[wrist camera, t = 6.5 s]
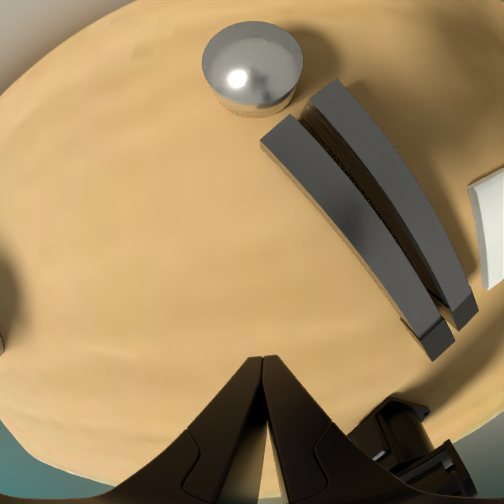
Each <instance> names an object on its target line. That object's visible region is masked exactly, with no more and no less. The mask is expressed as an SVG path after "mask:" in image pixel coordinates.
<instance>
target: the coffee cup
mask: <svg viewBox="0 0 504 504" xmlns="http://www.w3.org/2000/svg"><path fill="white" fill-rule="evenodd" d="M3 352H4V347H3V342H2V339H1V336H0V356H1V355H2V354H3Z"/></svg>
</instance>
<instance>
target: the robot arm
mask: <svg viewBox="0 0 504 504" xmlns="http://www.w3.org/2000/svg"><path fill="white" fill-rule="evenodd" d="M430 412H431V411H430V409H429V408H428V407H424V406H421V405H417V404H413V403H410V402H406V401H403V400H400V399H396V398H393V397H391V398H388V399H386V400H385V401H384V402H383V403H382V404H381V405H380V406H379V407H378V408H377V409H376V410H375V411H374V412H373V413H372V414H371V415H370V416H369V417H368V418H367V419H366V420H365V421H364V422H363V423H362V424H360V425H359V426H358V427H357V428H356V429H355V430H354V431H353V432H352V433H350V434H349V435H348V436H346V435H345V434H344V433H343V432H342V431H341V430H340V429H339V427H338V426H337V425H336V424H335V423H334V422H332V420H331V418H330V417H329V416H328V415H327V414H326V413H325V412H324V410H323V409H322V408H321V407H320V406H319V405H318V403H317V402H316V401H315V400H314V399H313V397H312V396H311V395H310V394H309V393H308V392H307V390H306V389H305V388H304V387H303V386H302V384H301V383H300V382H299V381H298V380H297V378H296V377H295V376H294V375H293V373H292V372H291V371H290V370H289V369H288V367H287V366H286V365H285V364H284V362H283V361H282V360H281V359H280V357H279V356H278V355H269V356H264V357H261V356H257V357H249V358H247V360H246V361H245V362H244V363H243V364H242V366H241V367H240V368H239V369H238V370H237V372H236V373H235V374H234V375H233V376H232V377H231V379H230V380H229V381H228V382H227V383H226V385H225V386H224V387H223V388H222V389H221V390H220V391H219V393H218V394H217V395H216V396H215V397H214V398H213V399H212V401H211V402H210V403H209V404H208V405H207V406H206V407H205V408H204V410H203V411H202V412H201V413H200V414H199V415H198V416H197V417H196V418H195V419H194V421H193V422H192V423H191V424H190V425H189V426H188V427H187V429H185V430H184V431H183V432H182V433H181V434H180V435H179V436H178V437H177V438H176V439H175V440H174V441H173V442H172V443H171V444H170V445H169V446H168V447H167V448H166V449H165V450H164V451H163V452H162V453H160V454H159V455H158V456H157V457H156V458H154V459H153V460H152V461H151V462H149V463H148V464H147V465H145V466H144V467H143V468H141V469H140V470H139V471H137V472H136V473H135V474H133V475H132V476H130V477H129V478H128V479H126V480H125V481H123V482H122V483H121V484H119V485H118V486H116V487H115V488H113V489H111V490H109V491H107V492H105V493H103V494H100V495H97V496H93V497H86V498H70V499H33V498H19V497H12V496H8V495H4V494H1V493H0V504H257V503H258V496H259V489H260V482H261V475H262V468H263V460H264V452H265V444H266V436H267V421H268V428H269V434H270V440H271V445H272V450H273V456H274V461H275V466H276V471H277V476H278V481H279V486H280V492H281V497H282V502H283V504H504V497H503V498H476V497H477V496H478V494H477V491H476V488H475V486H474V483H473V481H472V479H471V477H470V475H469V473H468V471H467V469H466V468H465V466H464V464H463V462H462V460H461V459H460V457H459V455H458V453H457V452H456V450H455V448H454V446H453V445H452V443H451V441H450V440H449V439H448V440H447V441H445V442H444V444H442V445H441V446H439V447H438V448H436V449H434V447H433V445H432V443H431V441H430V439H429V437H428V435H427V433H426V431H425V429H424V427H423V425H422V423H421V422H422V421H423V420H424V419H425V418H426V417H427V416H428V415H429V414H430ZM450 463H452V464H453V465H451V466H450V467H448V468H447V469H445V467H446V466H448V465H449V464H450Z"/></svg>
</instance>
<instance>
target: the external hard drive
mask: <svg viewBox="0 0 504 504" xmlns="http://www.w3.org/2000/svg"><path fill="white" fill-rule="evenodd" d="M467 188H468V193H469V197H470V201H471V206H472V211H473V216H474V221H475V227H476V233H477V240H478V247H479V255H480V265H481V278H482V288H484V289H486V290H490V289H491V288H492V287H494V286H495V285H496V284H498V283H499V282H500V281H501V280H503V279H504V167H503V168H501V169H499V170H497V171H495V172H493V173H492V174H490V175H488V176H486V177H484V178H482V179H480V180H478V181H476V182H475V183H473V184H471V185H469V186H467Z"/></svg>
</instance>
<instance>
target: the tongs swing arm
mask: <svg viewBox="0 0 504 504" xmlns="http://www.w3.org/2000/svg"><path fill="white" fill-rule="evenodd" d="M302 68H303V55H302V51H301V49H300V46H299V44H298V43H297V41H296V40H295V39H294V38H293V36H291V35H290V34H289V33H288V32H287V31H285V30H284V29H282V28H280V27H278V26H276V25H273V24H270V23H266V22H260V21H247V22H241V23H237V24H233V25H231V26H228V27H226V28H224V29H223V30H221V31H220V32H218V33H217V34H216V35H215V36H214V37H213V38H212V39H211V40H210V41H209V43H208V44H207V46H206V48H205V50H204V53H203V57H202V69H203V73H204V76H205V78H206V80H207V81H208V83H209V85H210V86H211V88H212V90H213V91H214V93H215V95H216V96H217V98H218V100H219V101H220V103H221V104H222V105H223V106H224V107H225V108H226V109H227V110H229V111H230V112H232V113H234V114H236V115H238V116H241V117H246V118H263V117H268V116H271V115H273V114H275V113H277V112H279V111H280V110H282V109H283V108H284V107H285V106H286V105H287V104H288V103H289V102H290V100H291V99H292V97H293V94H294V92H295V89H296V86H297V83H298V80H299V77H300V75H301V72H302ZM260 147H261V149H262V150H263V151H264V152H265V153H266V154H267V155H268V156H269V157H270V158H271V159H272V160H273V161H274V162H275V163H276V164H277V165H278V166H279V168H280V169H281V170H282V171H283V172H284V173H285V174H286V175H287V176H288V177H289V178H290V179H291V180H292V182H293V183H294V184H295V185H296V186H297V187H298V188H299V189H300V190H301V192H302V193H303V194H304V195H305V196H306V197H307V198H308V199H309V201H310V202H311V203H312V204H313V205H314V206H315V208H316V209H317V210H318V211H319V212H320V213H321V215H322V216H323V217H324V218H325V219H326V220H327V222H328V223H329V224H330V225H331V226H332V228H333V229H334V230H335V231H336V232H337V234H338V235H339V236H340V237H341V239H342V240H343V241H344V242H345V243H346V245H347V246H348V247H349V248H350V250H351V251H352V252H353V253H354V255H355V256H356V257H357V259H358V260H359V261H360V262H361V264H362V265H363V266H364V268H365V269H366V270H367V271H368V273H369V274H370V275H371V277H372V278H373V279H374V281H375V282H376V283H377V285H378V286H379V287H380V289H381V290H382V292H383V293H384V294H385V296H386V297H387V298H388V300H389V301H390V303H391V304H392V305H393V307H394V308H395V310H396V311H397V313H398V314H399V315H400V317H401V318H400V319H401V321H402V322H403V324H404V325H405V327H406V328H407V330H408V331H409V333H410V334H411V336H412V337H413V338H414V340H415V341H416V342H417V343H418V345H419V346H420V347H421V348H422V350H423V351H424V352H425V353H426V355H427V356H428V357H429V358H430V360H431V361H432V362H433V361H434V360H435V359H436V358H438V357H439V356H440V355H441V354H442V353H443V352H444V351H445V350H446V349H447V348H448V347H449V346H450V345H452V344H453V343H454V342H455V339H454V337H453V335H452V332H451V330H450V328H449V326H448V324H447V322H446V320H445V318H443V317H442V316H441V315H440V314H439V312H438V310H437V308H436V307H435V305H434V303H433V301H432V299H431V298H430V296H429V294H428V292H427V290H426V289H425V287H424V285H423V284H422V282H421V280H420V279H419V277H418V275H417V274H416V272H415V270H414V269H413V267H412V266H411V264H410V262H409V261H408V259H407V258H406V256H405V255H404V253H403V252H402V250H401V249H400V247H399V246H398V244H397V243H396V241H395V240H394V238H393V237H392V235H391V234H390V232H389V231H388V229H387V228H386V227H385V225H384V224H383V222H382V221H381V220H380V218H379V217H378V215H377V214H376V213H375V211H374V210H373V209H372V207H371V206H370V205H369V203H368V202H367V201H366V199H365V198H364V197H363V196H362V194H361V193H360V192H359V190H358V189H357V188H356V187H355V185H354V184H353V183H352V182H351V180H350V179H349V178H348V177H347V176H346V174H345V173H344V172H343V171H342V170H341V168H340V167H339V166H338V165H337V164H336V162H335V161H334V160H333V159H332V158H331V157H330V156H329V154H328V153H327V152H326V151H325V150H324V149H323V148H322V146H321V145H320V144H319V143H318V142H317V141H316V140H315V139H314V138H313V137H312V136H311V134H310V133H309V132H308V131H307V130H306V129H305V128H304V127H303V126H302V125H301V124H300V123H299V122H298V121H297V120H296V119H295V118H294V117H293V116H292V115H291V114H289V115H288V116H287V117H286V118H285V119H284V120H282V121H281V122H280V123H279V124H278V125H276V126H275V127H274V128H273V129H272V130H271V131H270V132H268V133H267V134H266V135H265V136H264V137H263V138H262V139H260Z"/></svg>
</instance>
